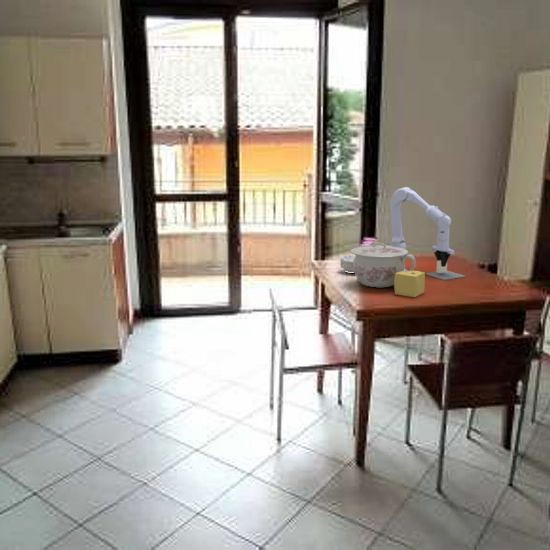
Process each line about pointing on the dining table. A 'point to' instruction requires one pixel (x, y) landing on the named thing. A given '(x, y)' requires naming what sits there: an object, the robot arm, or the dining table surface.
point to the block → (440, 268)
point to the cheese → (409, 283)
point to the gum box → (368, 241)
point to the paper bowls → (347, 263)
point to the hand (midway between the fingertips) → (441, 265)
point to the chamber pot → (379, 264)
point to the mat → (445, 275)
